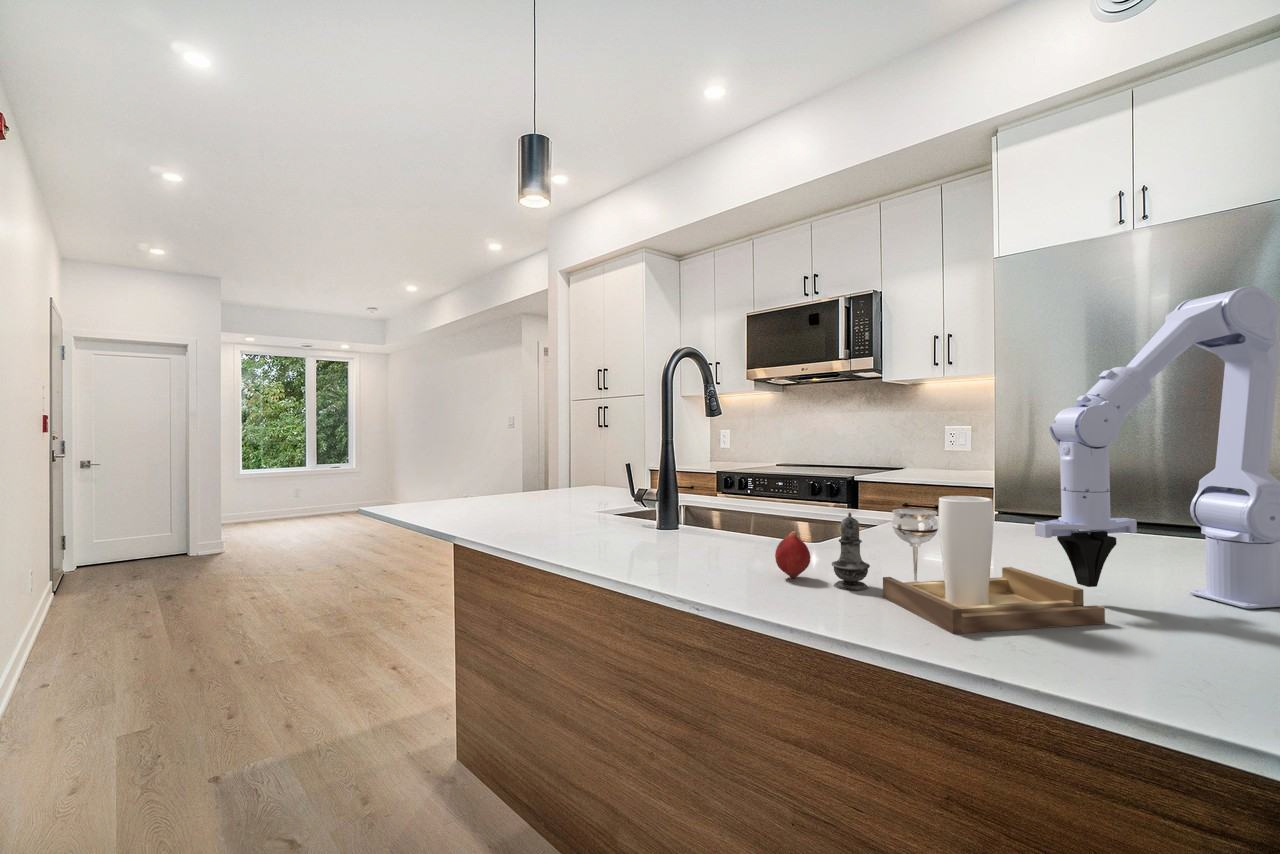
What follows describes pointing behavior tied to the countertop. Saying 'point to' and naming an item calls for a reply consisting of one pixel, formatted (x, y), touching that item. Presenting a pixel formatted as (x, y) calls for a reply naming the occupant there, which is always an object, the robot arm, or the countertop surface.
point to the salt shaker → (850, 558)
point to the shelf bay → (985, 621)
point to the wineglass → (915, 529)
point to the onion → (792, 555)
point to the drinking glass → (966, 548)
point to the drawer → (1015, 593)
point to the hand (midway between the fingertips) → (1087, 585)
